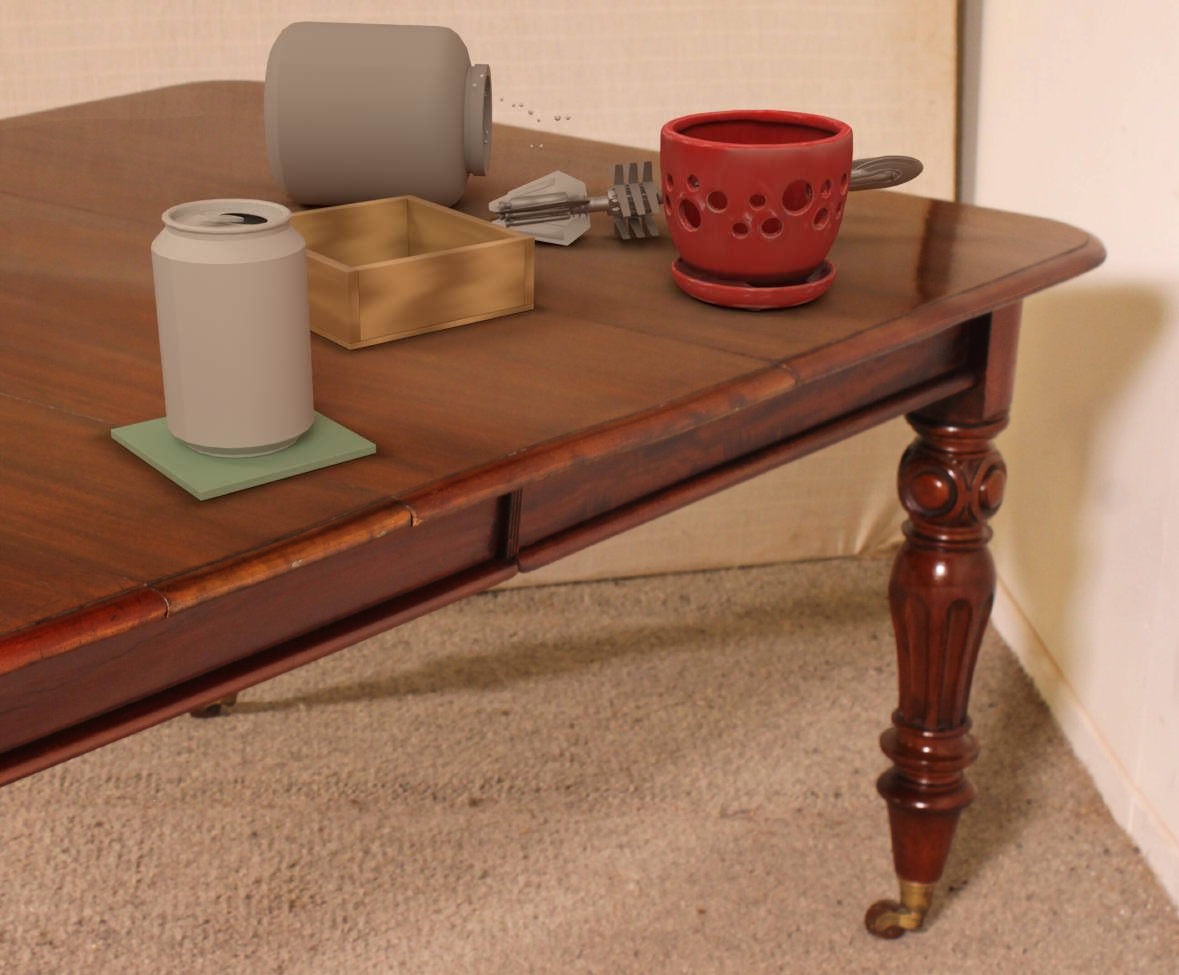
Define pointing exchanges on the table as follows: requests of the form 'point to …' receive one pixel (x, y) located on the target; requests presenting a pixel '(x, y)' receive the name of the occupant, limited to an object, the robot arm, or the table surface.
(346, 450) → the mat
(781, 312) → the table surface
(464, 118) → the jar
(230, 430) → the can
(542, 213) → the spaceship
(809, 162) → the flower pot
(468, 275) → the wooden box
